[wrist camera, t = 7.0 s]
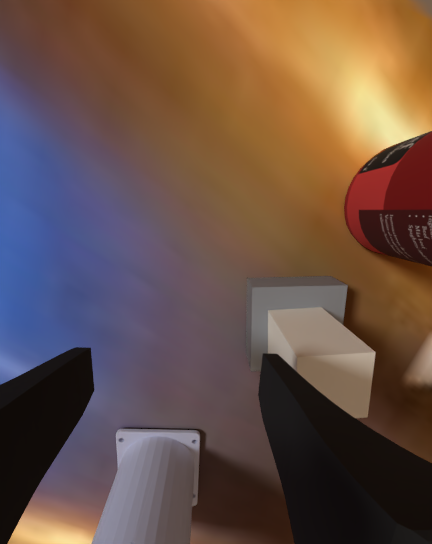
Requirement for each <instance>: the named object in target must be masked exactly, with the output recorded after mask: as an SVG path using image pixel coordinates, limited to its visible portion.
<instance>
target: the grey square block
mask: <svg viewBox="0 0 432 544" xmlns="http://www.w3.org/2000/svg"><path fill="white" fill-rule="evenodd" d="M347 287H348V285H346V284H344V283H343V282H341V281H339V280H337V279H335V278H333V277H331V276H313V277H270V278H247V317H246V355H247V359H248V363H249V367H250V370H251V371H261V365H262V356H263V353H268V310H281V309H298V308H315V307H322V308H323V309H324V310H325V311H327V312H328V313H329V314H330V315H331V316H333V317H334V318H335V319H336V320H337V321H339V322H340V323H341V324H342V325H343V320H344V312H345V304H346V295H347Z"/></svg>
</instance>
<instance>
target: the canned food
mask: <svg viewBox="0 0 432 544" xmlns="http://www.w3.org/2000/svg"><path fill="white" fill-rule="evenodd" d="M344 211H345V220H346V224H347V226H348V229H349V231H350V233H351V234H352V235H353V236H354V238H355V239H356V240H357V241H358V242H359V243H360V244H362V245H363V246H364V247H366V248H367V249H369V250H371V251H374V252H377V253H381V254H385V255H389V256H393V257H397V258H401V259H405V260H409V261H413V262H417V263H421V264H425V265H429V266H432V131H431V132H428V133H425V134H423V135H420V136H417V137H415V138H412V139H409V140H406V141H404V142H401V143H398V144H396V145H393V146H391V147H389V148H386V149H384V150H382V151H381V152H379V153H378V154H376V155H375V156H374V157H372V158H371V159H370V160H369V161H368V162H367V163H366V164H365V165H364V166H363V167H362V168H361V169H360V170H359V171H358V173H357V174H356V175H355V177H354V178H353V180H352V182H351V184H350V186H349V188H348V192H347V195H346V199H345V206H344Z"/></svg>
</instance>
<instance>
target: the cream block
mask: <svg viewBox="0 0 432 544" xmlns="http://www.w3.org/2000/svg"><path fill="white" fill-rule="evenodd" d="M268 353H271V354H278V355H279V356H280V357H281V358H283V359H284V360H285V361H286V362H287V363H288V364H289V365H290V366H291V367H292V368H293V369H294V370H295V371H297V372H298V373H299V374H300V375H301V376H302V377H303V378H304V379H305V380H307V381H308V382H309V383H310V384H311V385H312V386H313V387H315V388H316V389H317V390H318V391H319V392H321V393H322V394H323V395H324V396H326V397H327V398H328V399H329V400H331V401H332V402H333V403H335V404H336V405H337V406H339V407H340V408H341V409H343V410H344V411H345V412H347V413H348V414H350V415H351V416H353V417H354V418H367V417H368V410H369V402H370V394H371V386H372V377H373V369H374V361H375V353H376V352H375V351H374V350H372V349H371V348H370V347H369V346H368V345H366V344H365V343H364V342H363V341H362V340H360V339H359V338H358V337H357V336H355V335H354V334H353V333H352V332H351V331H349V330H348V329H347V328H346V327H345V326H343V325H342V324H341V323H340V322H339V321H337V320H336V319H335V318H334V317H333V316H331V315H330V314H329V313H328V312H327V311H325V310H324V309H323V308H322V307H315V308H298V309H281V310H268Z"/></svg>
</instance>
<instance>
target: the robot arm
mask: <svg viewBox="0 0 432 544" xmlns="http://www.w3.org/2000/svg"><path fill="white" fill-rule="evenodd" d="M93 392H94V382H93V370H92V358H91V348H78V347H76V348H73V349H71V350H69V351H66V352H64V353H62V354H60V355H58V356H56V357H55V358H53V359H51V360H49V361H47V362H45V363H43V364H41V365H39V366H37V367H35V368H33V369H31V370H30V371H28V372H26V373H24V374H22V375H20V376H18V377H16V378H14V379H12V380H10V381H8V382H6V383H3V384H1V385H0V544H7V543H8V541H9V539H10V537H11V535H12V533H13V531H14V529H15V528H16V526H17V524H18V522H19V520H20V518H21V516H22V514H23V512H24V511H25V509H26V507H27V505H28V503H29V501H30V499H31V497H32V495H33V494H34V492H35V490H36V488H37V487H38V485H39V483H40V482H41V480H42V478H43V477H44V475H45V474H46V472H47V470H48V469H49V467H50V466H51V464H52V463H53V461H54V459H55V458H56V456H57V455H58V453H59V452H60V450H61V448H62V447H63V445H64V444H65V442H66V441H67V439H68V437H69V436H70V434H71V433H72V431H73V429H74V428H75V426H76V425H77V423H78V421H79V420H80V418H81V416H82V415H83V413H84V411H85V409H86V407H87V405H88V403H89V400H90V398H91V396H92V394H93ZM258 395H259V401H260V407H261V413H262V418H263V422H264V425H265V429H266V432H267V436H268V439H269V443H270V446H271V449H272V453H273V456H274V459H275V463H276V466H277V469H278V473H279V476H280V480H281V483H282V487H283V491H284V495H285V499H286V504H287V509H288V514H289V518H290V523H291V528H292V533H293V538H294V543H295V544H432V463H430V462H428V461H426V460H424V459H422V458H420V457H418V456H417V455H415V454H413V453H411V452H409V451H408V450H406V449H404V448H402V447H400V446H399V445H397V444H395V443H394V442H392V441H390V440H389V439H387V438H385V437H384V436H382V435H380V434H379V433H377V432H375V431H374V430H372V429H371V428H369V427H367V426H366V425H364V424H363V423H361V422H360V421H358V420H357V419H356V418H354V417H353V416H351V415H350V414H348V413H347V412H345V411H344V410H343V409H341V408H340V407H339V406H337V405H336V404H335V403H333V402H332V401H331V400H329V399H328V398H327V397H326V396H324V395H323V394H322V393H321V392H319V391H318V390H317V389H316V388H315V387H313V386H312V385H311V384H310V383H309V382H308V381H307V380H305V379H304V378H303V377H302V376H301V375H300V374H299V373H298V372H297V371H295V370H294V369H293V368H292V367H291V366H290V365H289V364H288V363H287V362H286V361H285V360H284V359H283V358H281V357H280V356H279V355H278V354H271V353H263V356H262V365H261V374H260V384H259V393H258ZM121 438H123V439H121ZM116 446H117V461H118V472H117V474H116V477H115V480H114V483H113V485H112V488H111V491H110V494H109V497H108V499H107V502H106V505H105V508H104V510H103V513H102V516H101V519H100V522H99V524H98V527H97V530H96V533H95V536H94V538H93V541H92V544H190V535H191V519H192V506H195V505H197V501H198V476H199V452H200V432H199V431H197V430H163V429H119V430H118V431H117V433H116Z"/></svg>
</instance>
